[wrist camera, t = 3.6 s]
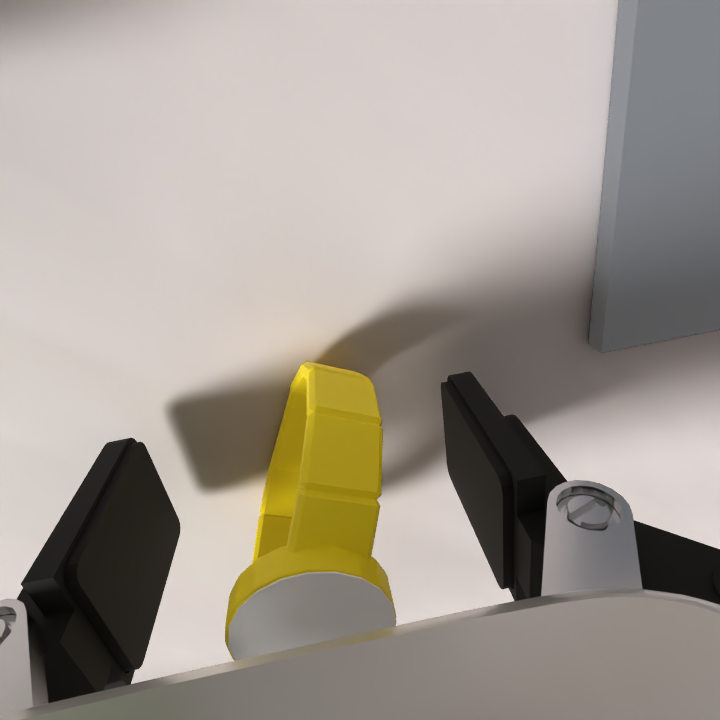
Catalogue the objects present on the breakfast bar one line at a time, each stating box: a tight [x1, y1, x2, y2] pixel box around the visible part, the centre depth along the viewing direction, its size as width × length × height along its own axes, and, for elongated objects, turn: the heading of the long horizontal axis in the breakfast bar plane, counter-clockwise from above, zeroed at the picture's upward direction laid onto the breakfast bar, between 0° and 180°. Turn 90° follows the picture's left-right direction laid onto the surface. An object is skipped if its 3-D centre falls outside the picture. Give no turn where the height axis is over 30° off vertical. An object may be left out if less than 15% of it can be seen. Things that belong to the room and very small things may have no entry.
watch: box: [225, 361, 396, 661], centre depth 10 cm, size 6×3×6 cm, turn 163°
